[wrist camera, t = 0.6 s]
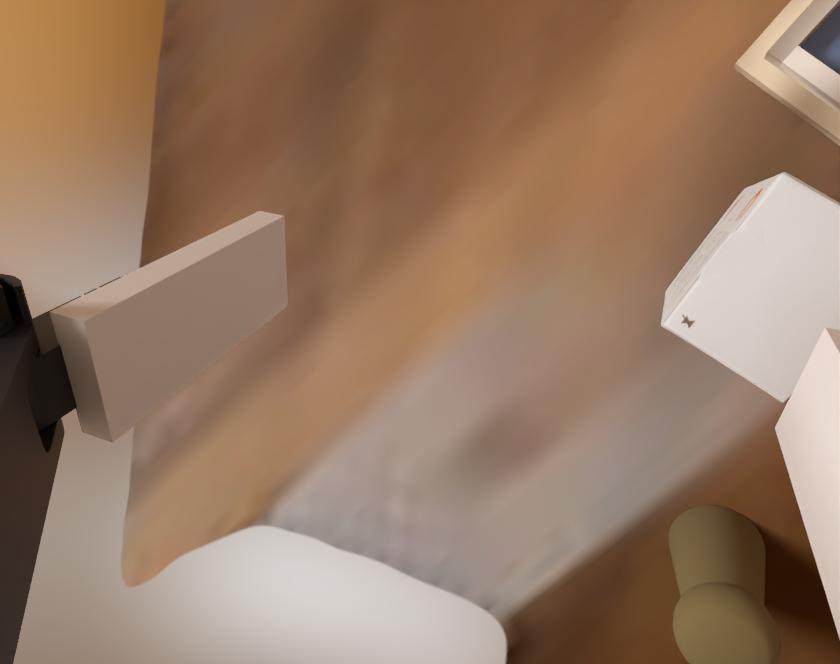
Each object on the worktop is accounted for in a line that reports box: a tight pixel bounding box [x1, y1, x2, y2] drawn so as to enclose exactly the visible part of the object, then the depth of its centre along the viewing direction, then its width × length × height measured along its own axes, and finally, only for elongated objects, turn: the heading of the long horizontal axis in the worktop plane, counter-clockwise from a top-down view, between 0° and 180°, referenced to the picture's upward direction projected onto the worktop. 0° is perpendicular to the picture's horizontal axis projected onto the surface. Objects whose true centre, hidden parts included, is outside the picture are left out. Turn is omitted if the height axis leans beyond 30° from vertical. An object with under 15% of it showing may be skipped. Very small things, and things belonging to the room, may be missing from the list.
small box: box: [661, 172, 840, 403], centre depth 30 cm, size 8×6×13 cm
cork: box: [668, 505, 781, 664], centre depth 35 cm, size 6×6×11 cm
